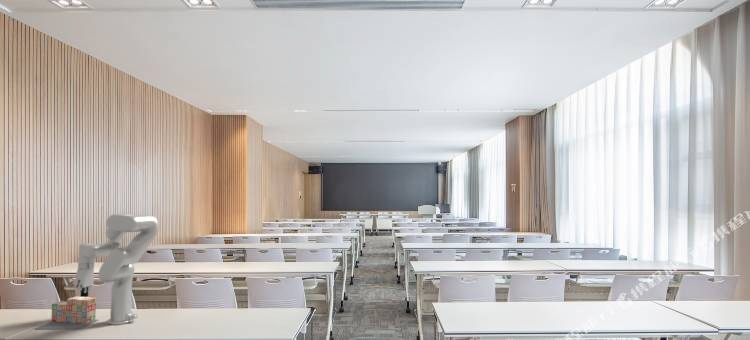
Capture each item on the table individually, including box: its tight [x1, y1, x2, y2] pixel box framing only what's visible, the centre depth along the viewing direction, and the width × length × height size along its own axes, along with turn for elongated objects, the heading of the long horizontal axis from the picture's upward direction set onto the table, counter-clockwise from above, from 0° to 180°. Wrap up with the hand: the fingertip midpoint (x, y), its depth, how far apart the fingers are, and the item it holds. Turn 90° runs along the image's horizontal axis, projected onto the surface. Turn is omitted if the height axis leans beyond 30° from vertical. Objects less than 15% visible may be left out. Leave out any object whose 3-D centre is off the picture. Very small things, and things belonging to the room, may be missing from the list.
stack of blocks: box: [50, 295, 97, 324], centre depth 240 cm, size 21×6×12 cm, turn 80°
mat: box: [34, 319, 99, 331], centre depth 234 cm, size 22×16×1 cm
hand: (84, 299), depth 249 cm, fingers closed
